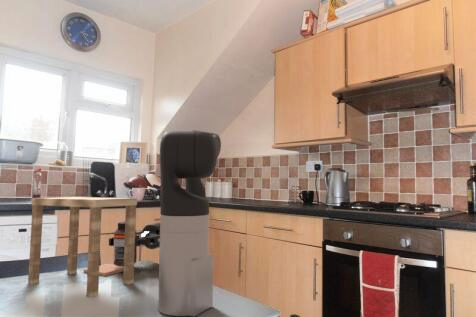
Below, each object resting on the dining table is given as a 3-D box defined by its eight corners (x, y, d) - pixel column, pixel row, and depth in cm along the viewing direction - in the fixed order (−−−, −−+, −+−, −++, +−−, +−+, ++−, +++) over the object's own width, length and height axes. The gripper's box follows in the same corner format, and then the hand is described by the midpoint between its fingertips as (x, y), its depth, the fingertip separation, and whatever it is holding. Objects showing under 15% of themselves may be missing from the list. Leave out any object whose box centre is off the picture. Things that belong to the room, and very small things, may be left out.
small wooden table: (134, 282, 78) (137, 198, 80) (91, 297, 68) (95, 199, 70) (72, 272, 88) (76, 197, 90) (26, 283, 78) (31, 198, 80)
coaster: (128, 269, 91) (128, 266, 91) (105, 276, 84) (105, 273, 84) (108, 266, 95) (108, 263, 95) (83, 272, 88) (83, 269, 88)
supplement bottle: (124, 260, 94) (125, 220, 95) (141, 262, 92) (141, 221, 93) (108, 265, 89) (109, 222, 90) (125, 267, 86) (125, 223, 87)
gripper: (143, 221, 107) (100, 227, 92) (179, 223, 101) (139, 230, 86) (142, 245, 106) (99, 254, 92) (179, 248, 100) (138, 260, 85)
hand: (118, 242), depth 89 cm, fingers closed on supplement bottle, 6 cm apart
